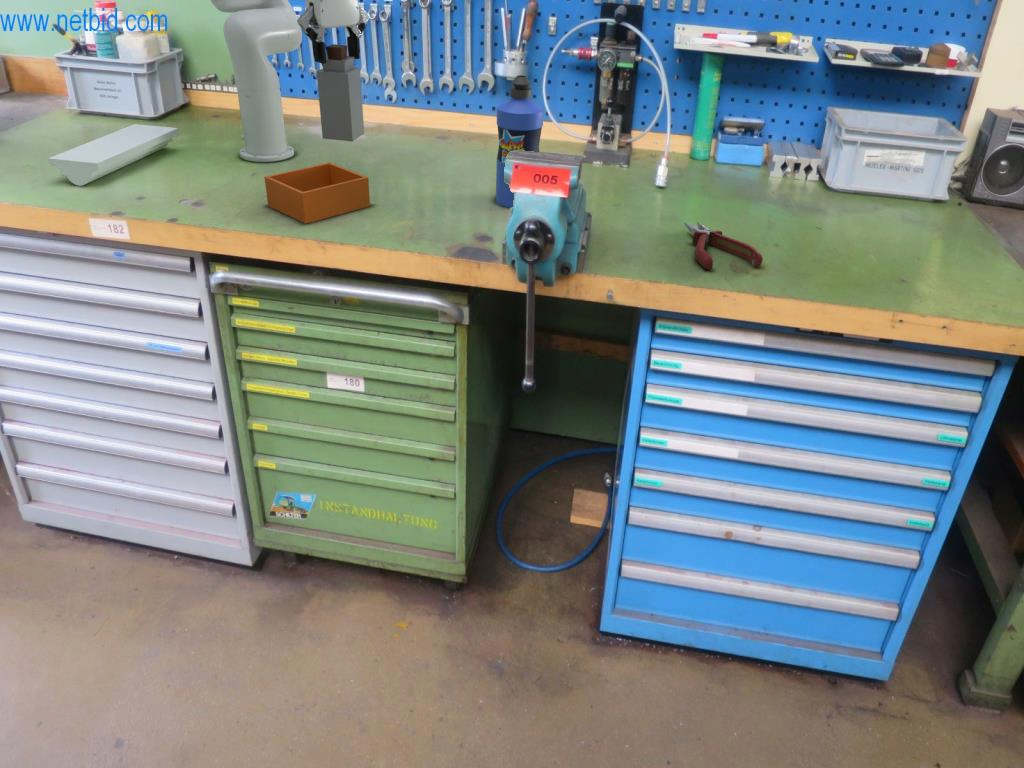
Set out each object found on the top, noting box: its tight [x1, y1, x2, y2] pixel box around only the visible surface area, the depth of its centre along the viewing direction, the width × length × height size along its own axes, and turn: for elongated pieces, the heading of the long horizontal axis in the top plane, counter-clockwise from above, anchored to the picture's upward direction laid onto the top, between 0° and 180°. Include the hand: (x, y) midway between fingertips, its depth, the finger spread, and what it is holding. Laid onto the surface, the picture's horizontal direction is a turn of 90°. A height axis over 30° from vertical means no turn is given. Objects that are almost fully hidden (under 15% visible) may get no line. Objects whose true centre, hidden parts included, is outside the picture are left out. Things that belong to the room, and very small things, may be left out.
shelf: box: [48, 123, 180, 187], centre depth 177 cm, size 12×30×5 cm, turn 168°
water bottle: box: [495, 74, 545, 209], centre depth 160 cm, size 9×9×25 cm
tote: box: [263, 161, 371, 225], centre depth 159 cm, size 13×15×6 cm
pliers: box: [683, 221, 764, 270], centre depth 147 cm, size 12×20×3 cm, turn 12°
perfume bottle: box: [315, 43, 365, 142], centre depth 165 cm, size 7×7×18 cm
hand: (337, 59), depth 162 cm, fingers closed on perfume bottle, 7 cm apart
